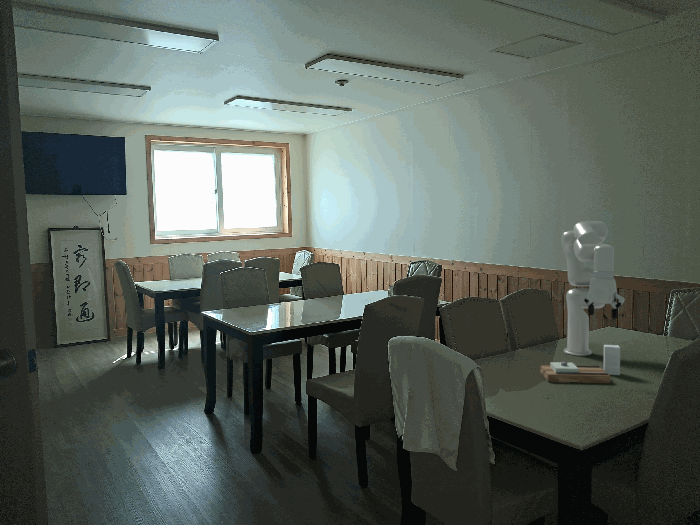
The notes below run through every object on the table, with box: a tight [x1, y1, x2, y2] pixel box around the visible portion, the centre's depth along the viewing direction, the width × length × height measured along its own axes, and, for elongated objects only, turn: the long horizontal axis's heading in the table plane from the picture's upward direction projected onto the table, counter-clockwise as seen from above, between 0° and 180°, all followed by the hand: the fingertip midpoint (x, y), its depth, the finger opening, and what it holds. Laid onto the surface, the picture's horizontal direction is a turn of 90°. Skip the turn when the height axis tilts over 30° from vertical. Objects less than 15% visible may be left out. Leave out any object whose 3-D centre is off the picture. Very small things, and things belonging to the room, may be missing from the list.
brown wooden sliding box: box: [539, 364, 612, 384], centre depth 222 cm, size 14×24×4 cm, turn 83°
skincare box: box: [602, 344, 621, 376], centre depth 226 cm, size 6×4×12 cm
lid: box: [549, 361, 579, 373], centre depth 222 cm, size 9×9×3 cm
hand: (602, 316), depth 220 cm, fingers open, 9 cm apart
